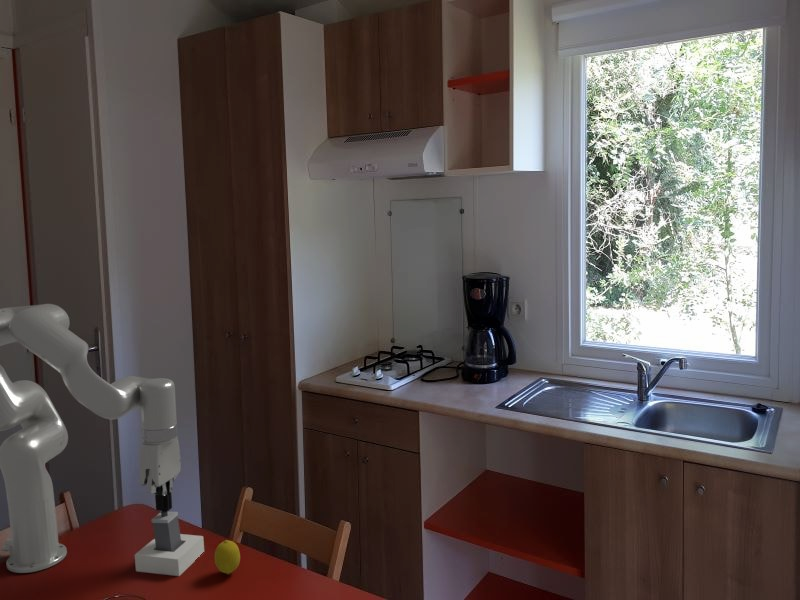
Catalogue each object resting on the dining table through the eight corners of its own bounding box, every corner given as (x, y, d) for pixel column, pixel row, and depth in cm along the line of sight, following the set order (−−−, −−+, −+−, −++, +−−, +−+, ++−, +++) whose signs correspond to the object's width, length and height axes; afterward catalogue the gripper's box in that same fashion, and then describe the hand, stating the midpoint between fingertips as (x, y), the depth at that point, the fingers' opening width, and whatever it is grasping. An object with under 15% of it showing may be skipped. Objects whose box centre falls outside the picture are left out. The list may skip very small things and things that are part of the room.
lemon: (243, 567, 156) (241, 533, 155) (238, 580, 150) (236, 545, 149) (218, 568, 156) (216, 534, 155) (213, 581, 150) (210, 546, 149)
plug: (157, 560, 158) (150, 515, 156) (167, 551, 162) (161, 507, 160) (173, 561, 157) (166, 515, 155) (183, 552, 161) (177, 507, 159)
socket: (135, 571, 155) (134, 554, 155) (163, 547, 166) (162, 532, 165) (179, 576, 153) (177, 559, 152) (204, 551, 163) (203, 536, 163)
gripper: (164, 421, 164) (168, 494, 166) (124, 442, 149) (129, 522, 152) (192, 424, 162) (195, 497, 164) (155, 445, 147) (159, 525, 150)
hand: (164, 509), depth 158 cm, fingers closed
